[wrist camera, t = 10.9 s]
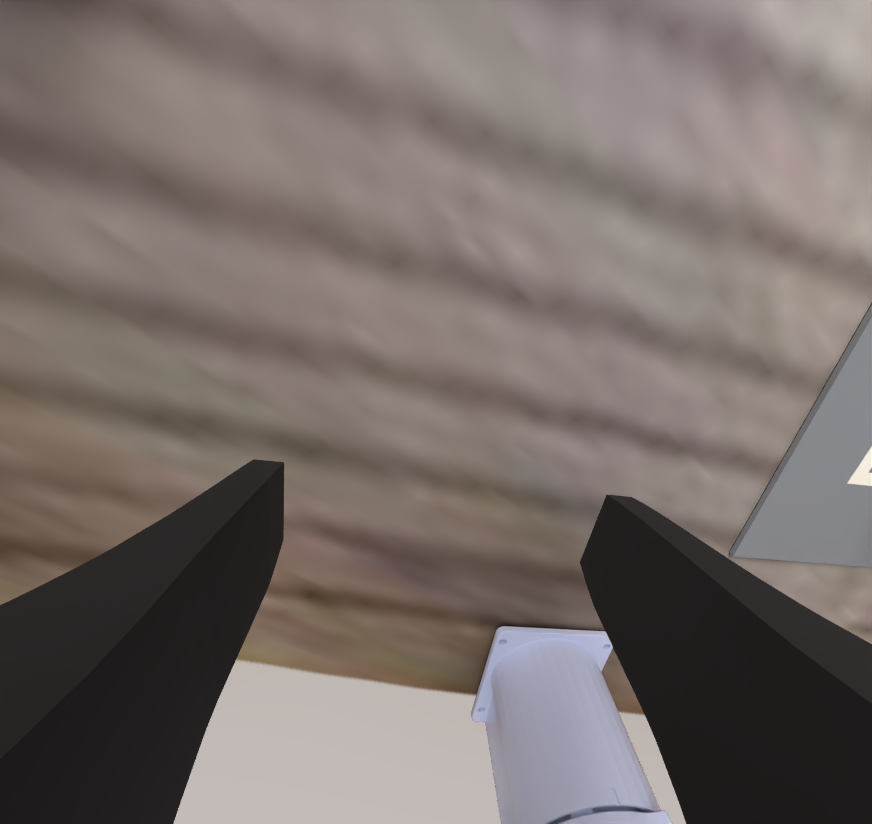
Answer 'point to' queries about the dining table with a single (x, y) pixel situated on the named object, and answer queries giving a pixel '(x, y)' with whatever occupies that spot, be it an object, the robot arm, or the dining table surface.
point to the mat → (823, 475)
